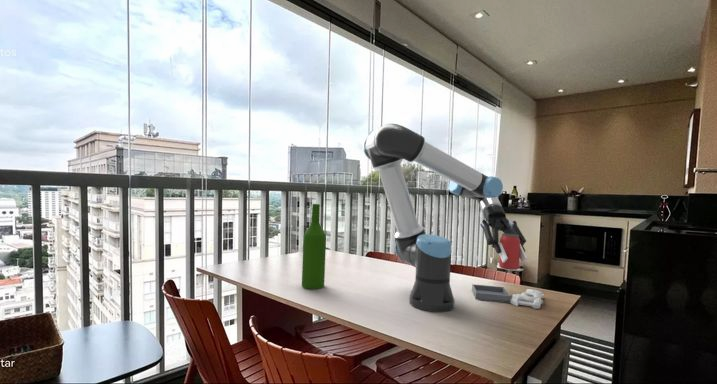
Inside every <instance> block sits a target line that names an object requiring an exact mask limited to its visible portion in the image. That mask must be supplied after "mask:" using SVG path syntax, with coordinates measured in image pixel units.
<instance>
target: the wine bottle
mask: <svg viewBox="0 0 717 384" xmlns="http://www.w3.org/2000/svg"><path fill="white" fill-rule="evenodd" d="M320 210H321V204H319V203H312V204H311V223H310V224H309V226H308V227H307V229H306V230H305V231H304V235H303V240H302V241H303V243H302V265H301V266H302V267H301V270H302V271H301V286H302V288H304V289H307V290H319V289H322V288H324V287H325V279H326V278H325V277H326V276H325V275H326V272H325V271H326V251H327V250H326V249H327V248H326V245H327V237H326V236H327V235H326V232H325V231H324V229H323V227H322V226H321V224H320V215H321V214H320V212H321V211H320Z"/></svg>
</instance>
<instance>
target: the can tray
mask: <svg viewBox="0 0 717 384" xmlns="http://www.w3.org/2000/svg"><path fill="white" fill-rule="evenodd" d="M471 292H472V295H473V296H474V298H475V300H477V301H486V302H487V301H488V302H498V303H507V304H511V303H510V301H511V298H512V295H511V294H510V293H509V291H508V290H507V289H506V288H505V287H504V286H496V285H495V286H494V285H483V284H473V283H472V284H471Z"/></svg>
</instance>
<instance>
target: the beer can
mask: <svg viewBox="0 0 717 384" xmlns="http://www.w3.org/2000/svg"><path fill="white" fill-rule="evenodd" d="M499 243H501V244H502V246H503V248H504V250H505V253H506V255H507V257H508V259H507V260H506V262H505V263H503V262H502V260H501V258H500V255H499V254H498V255H499V257H498V258H499V259H498V267H499V268H500V269H503V270H506V271H507V270H508V271H517V270H519V268H520V239H519V235H516V234H506V233H501V236H500V239H499Z"/></svg>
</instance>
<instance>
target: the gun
mask: <svg viewBox="0 0 717 384" xmlns="http://www.w3.org/2000/svg"><path fill="white" fill-rule="evenodd" d="M544 295H545V294H544V293H543V292H542V291H541V290H536V289H532V288H526V291H525V292H524V291H523V292H522V293H514V294H513V295H511V301H510V303H509V304H511V305H513V306H515V307H518V306H525V307H532V309H541V305H542V304H544V299H543V296H544Z"/></svg>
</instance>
